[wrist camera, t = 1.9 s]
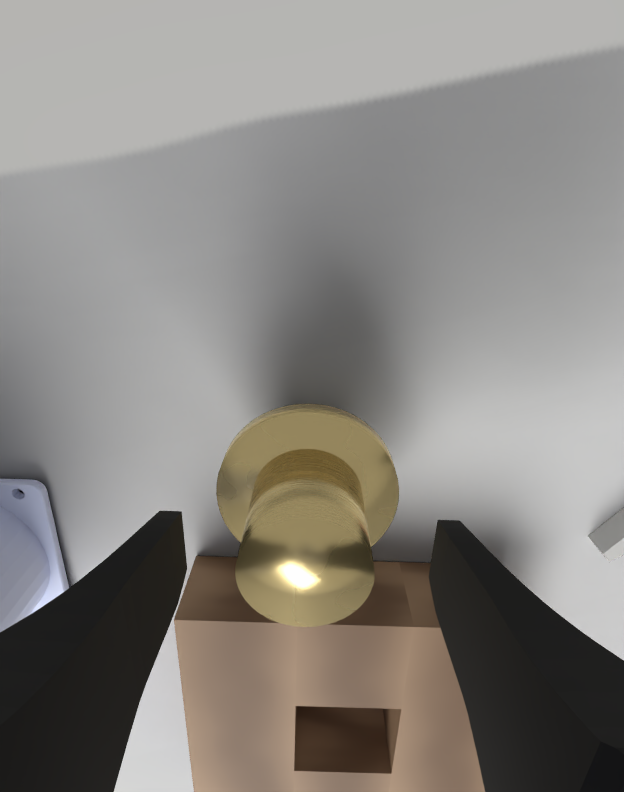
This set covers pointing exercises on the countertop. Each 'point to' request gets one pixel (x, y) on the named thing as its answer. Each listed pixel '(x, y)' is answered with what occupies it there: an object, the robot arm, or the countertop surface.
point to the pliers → (610, 537)
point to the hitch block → (322, 692)
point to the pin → (307, 511)
